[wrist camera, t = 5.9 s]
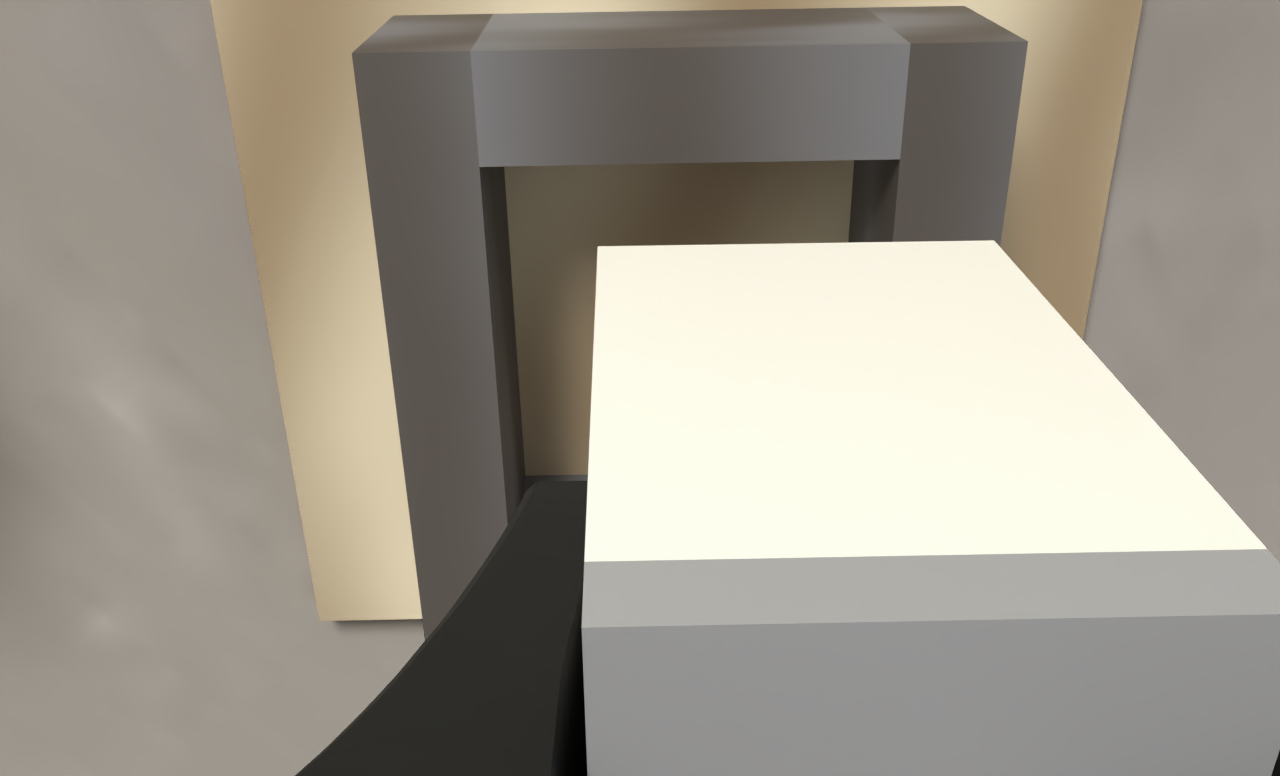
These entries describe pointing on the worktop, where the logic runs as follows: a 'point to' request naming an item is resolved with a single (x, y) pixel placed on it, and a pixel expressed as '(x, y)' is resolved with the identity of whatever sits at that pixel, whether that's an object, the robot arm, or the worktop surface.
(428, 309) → the socket
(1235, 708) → the plug
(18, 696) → the worktop surface
